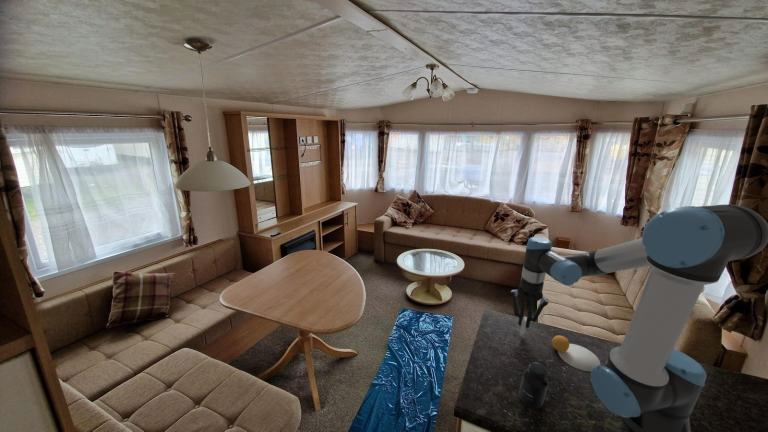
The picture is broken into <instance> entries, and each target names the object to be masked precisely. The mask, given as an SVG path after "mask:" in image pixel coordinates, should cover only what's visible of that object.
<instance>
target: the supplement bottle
mask: <svg viewBox="0 0 768 432" xmlns="http://www.w3.org/2000/svg"><path fill="white" fill-rule="evenodd" d="M547 374H548V370H547V368H546V367H545V366H544V365H543V364H541V363H539V362H536V361H533V362H530V363H529V365H528V367H527V368H526V369H525V370H524V371H523V373H522V376H521V381H520V385H519V390H518V397H519V400H520V401H521V402H522V403H523V404H524V405H525V406H526V407H529V408H530V409H540V408H541V407H543V405H544V402H545V398H546V395H547V391H548V386H549V379H548V377H547Z"/></svg>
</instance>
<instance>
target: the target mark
mask: <svg viewBox="0 0 768 432" xmlns="http://www.w3.org/2000/svg"><path fill="white" fill-rule="evenodd" d="M557 354H558V355H559V358H561V359H562V361H563V362H565V363H566V364H568V366H571V367H572V368H575V369H577V370H580V371H583V372H591V371H592V370H593V368H595V367H597V366H598V365H601V361H600V359H599V358H598V356H597V355H596V354H594V353H593V352H592V351H591V350H589V349H588V348H586V347H584V346H582V345H580V344H579V345H578V344H575V343H569V348H568V350H567V351H564V352H560V351H558V350H557Z"/></svg>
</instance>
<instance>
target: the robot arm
mask: <svg viewBox="0 0 768 432" xmlns="http://www.w3.org/2000/svg"><path fill="white" fill-rule="evenodd" d="M767 244H768V222H767V220H766V219H765V218H763V216H761V214H759V213H757V212H756V211H754V210H753V209H750V208H749V207H746V206H742V205H738V204H716V205H715V204H714V205H702V206H700V205H699V206H694V205H692V206H689V205H688V206H679V207H676V208H672V209H671V208H669V209H667V210H663V211H661V212H659V213H657V214H656V215H654V216H653V217H652V218H650V219H649V221H648V222H647V223H646V224H645V226H644V228H643V231H642V236H641V238H637V239H633V240H631V241H627V242H626V241H625V242H622V243H618V244H614V245H611V246H607V247H604V248H599V249H597V250H593V251H592V250H591V251H587V252H584V253H583V252H582V253H573V254H560V253H557V252H556V251H554V250H553V249H552V247H553V242H552V240H550V239H548V238H547V237H543V236H532V237H530V238H528V241H527V243H526V247H525V254H524V259H523V264H522V271H521V278H520V280H519V281H520V282H519V287H517V289H511V291H510V295H511V297H512V304H513V314H514V316H515V317H518V323H517V325H518V326H520V331H519V335H520V336H525V332H526V329H529V328H530V326H531V322H533V323H535V322H537V320H538V319H539V316H540V314H541V313H542V311H543V309H544V308H545V307H546V306H548V305H549V299H548V298H545V296H544V293H543V289H544V284H545V280H546V275H548V276H549V277H551V278H552V279H553V280H555V282H559V283H560V284H562V285H563V286H573V285H574V284H576V283H578V282H579V281H580V279H581V278H582V277H583V278H584V277H590V276H591V277H592V276H604V275H606V274H609V273H614V272H615V273H616V272H619V271H620V272H621V271H628V270H631V269H637V268H643V267H648V266H649V267H651V270H650V272H649V275H648V277H647V280H646V282H645V285H644V287H643V290H642V292H641V295H640V296H639V300H638V302H637V305H636V307H635V310H634V312H633V315H632V318H631V319H630V323H629V325H628V328H627V330H626V332H625V335H624V338H623V340H622V343H621V345H620V346H617V347H616V346H615V347H613V348H611V350H610V351H609V354H608V356H607V359H606V361H605V363H604V364H600V365H598V366H597V367H595V368H593V370H592V371H590V381H591V385H592V388H593V390H594V392H595V394H596V396H597V398H598V400H600V402H601V403H602V404H603V405H604V406H605V407H606V408H607V410H609V411H611V412H612V413H613V414H614V415H616V416H618V417H621V419H622V420H623V422H624V423H625V424H626V426H627V427H628V428H629V429H630V430H631V431H632V432H692V431H691V421H690V416H691V414H692V412H693V410H694V407H695V405H696V403H697V401H698V398H699V397H700V396H701V392H702V391H703V387H706V386H705V385H706V384H705V382H706V380H707V372H706V371H705V369H704V367H703V366H702V365H701V364H700V363H699V362H698V361H696V360H695V359H694V358H692V357H690V356H689V355H687V354H685V353H684V352H682V351H680V350H677V349H675V347H676V345H677V343H678V341H679V339H680V337H681V334H682V332H683V330H684V328H685V326H686V324H687V322H688V320H689V318H690V316H691V313H692V312H693V310H694V307H695V306H696V304H697V301H698V300H699V297H700V295H701V293H702V291H703V289H704V286H706V285H707V286H708V285H711V284H716V283H718V282H719V280H720V279H721V276H722V275H723V273H724V271H725V269H726V266H727V265H728V263H729V262H733V261H738V260H742V259H746V258H750V257H752V256H754V255H757V254H758V253H759V252H761V251H762V250H763V249H764V248H765V247H766V246H767ZM518 296H519V297H520V298H521V300H522V301H521V306H520V309H519V301H518ZM538 301H540V304H539V305H538V307H537V309H536V311H535V312H534V314H533V309H534V304H535V303H537V302H538ZM527 303H529V306H528V311H527V316H525V311H526V306H527Z"/></svg>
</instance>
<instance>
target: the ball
mask: <svg viewBox="0 0 768 432" xmlns="http://www.w3.org/2000/svg"><path fill="white" fill-rule="evenodd" d="M569 344H570V342H569V340H568V338H567V337H565V336H563V335H559V334H558V335H555V336H553V338H552V340H551V345H552V347H553V348H554V349H555V350H556V351H557V352H558V351H560V352H564V351H567V350H568V348H569Z"/></svg>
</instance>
